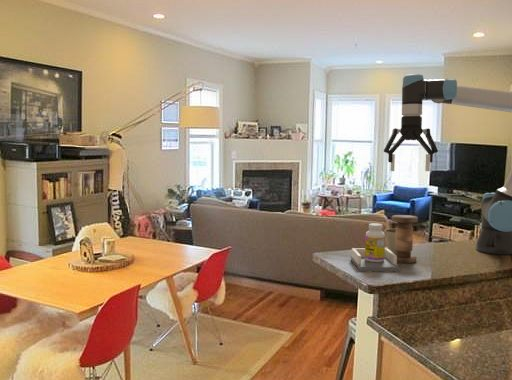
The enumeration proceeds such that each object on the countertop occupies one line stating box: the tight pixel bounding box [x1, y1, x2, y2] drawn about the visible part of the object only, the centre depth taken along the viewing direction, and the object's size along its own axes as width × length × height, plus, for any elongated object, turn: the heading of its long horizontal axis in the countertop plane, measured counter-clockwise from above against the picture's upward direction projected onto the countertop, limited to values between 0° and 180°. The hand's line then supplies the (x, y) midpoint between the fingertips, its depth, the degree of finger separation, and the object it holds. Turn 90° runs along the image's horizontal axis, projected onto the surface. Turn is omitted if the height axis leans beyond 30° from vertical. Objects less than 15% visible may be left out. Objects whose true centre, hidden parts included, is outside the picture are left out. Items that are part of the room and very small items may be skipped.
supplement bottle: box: [364, 222, 386, 262], centre depth 168 cm, size 7×7×13 cm
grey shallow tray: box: [350, 247, 401, 273], centre depth 167 cm, size 13×16×4 cm
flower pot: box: [383, 228, 397, 254], centre depth 188 cm, size 9×9×9 cm
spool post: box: [391, 214, 419, 264], centre depth 175 cm, size 9×9×16 cm
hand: (409, 171), depth 188 cm, fingers open, 13 cm apart
